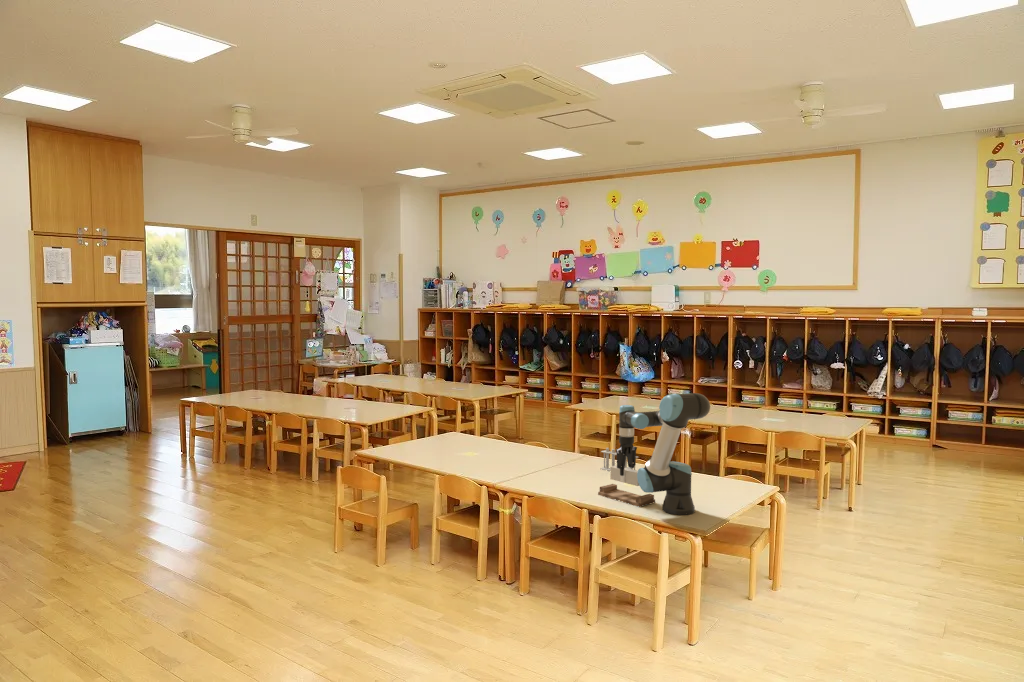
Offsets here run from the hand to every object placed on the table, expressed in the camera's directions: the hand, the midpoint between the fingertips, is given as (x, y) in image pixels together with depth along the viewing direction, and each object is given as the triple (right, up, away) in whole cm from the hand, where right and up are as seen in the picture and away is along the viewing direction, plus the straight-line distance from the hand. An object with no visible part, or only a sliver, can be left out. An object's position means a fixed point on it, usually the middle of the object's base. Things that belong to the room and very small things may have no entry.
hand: (626, 480), depth 361 cm
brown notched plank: (0, -9, 0) cm, 9 cm away
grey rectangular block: (0, -1, 0) cm, 1 cm away
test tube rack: (+5, -6, +56) cm, 57 cm away
